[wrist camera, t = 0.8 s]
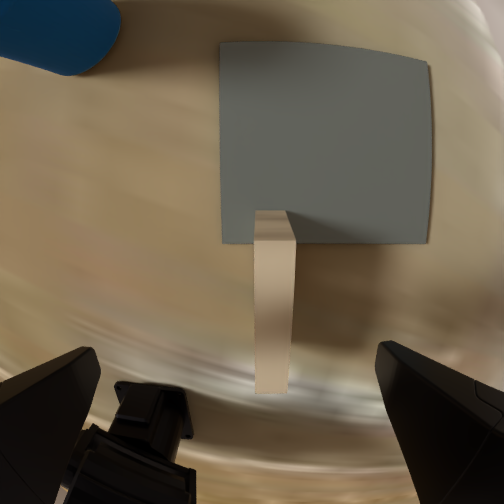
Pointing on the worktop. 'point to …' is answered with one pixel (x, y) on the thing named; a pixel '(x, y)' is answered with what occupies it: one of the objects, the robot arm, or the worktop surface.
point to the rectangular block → (273, 299)
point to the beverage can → (58, 33)
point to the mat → (324, 142)
